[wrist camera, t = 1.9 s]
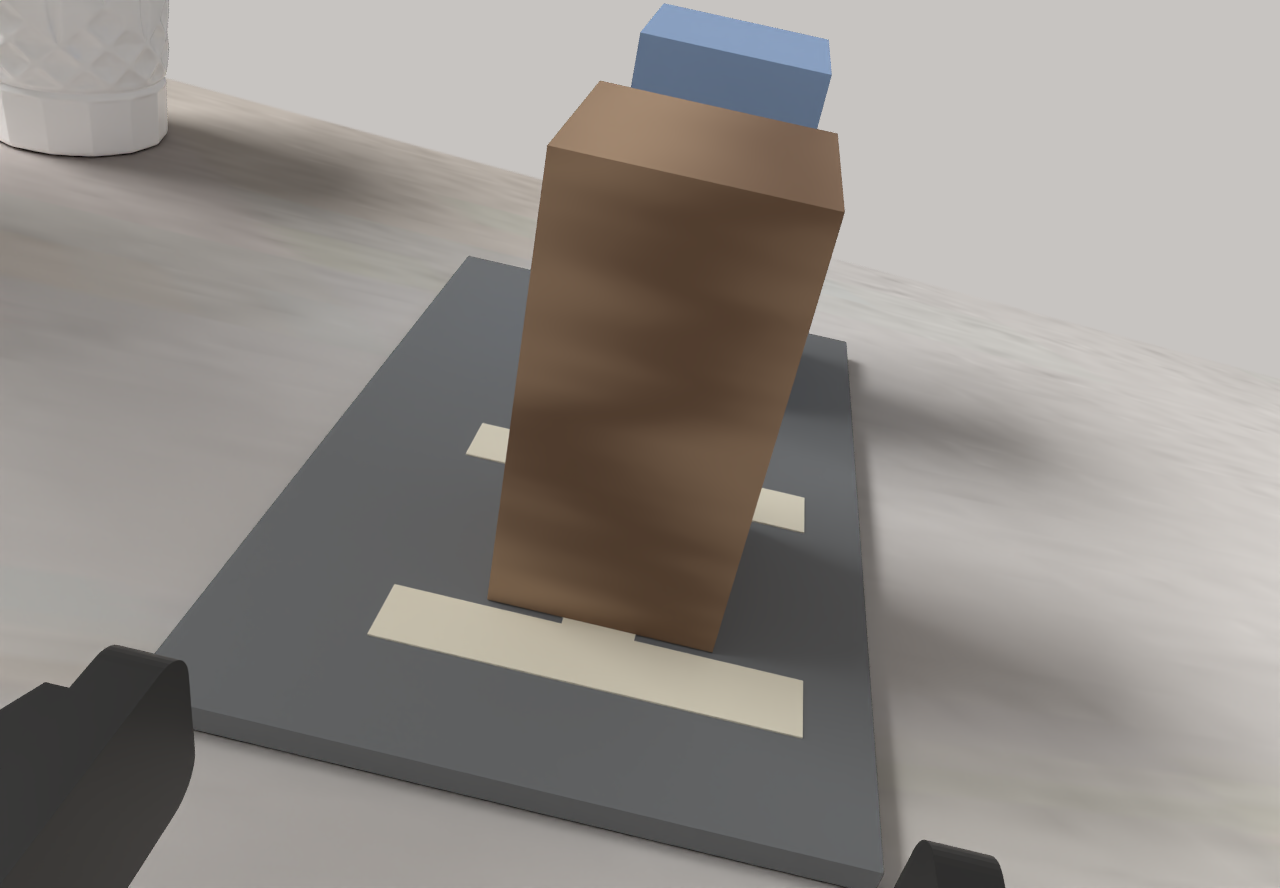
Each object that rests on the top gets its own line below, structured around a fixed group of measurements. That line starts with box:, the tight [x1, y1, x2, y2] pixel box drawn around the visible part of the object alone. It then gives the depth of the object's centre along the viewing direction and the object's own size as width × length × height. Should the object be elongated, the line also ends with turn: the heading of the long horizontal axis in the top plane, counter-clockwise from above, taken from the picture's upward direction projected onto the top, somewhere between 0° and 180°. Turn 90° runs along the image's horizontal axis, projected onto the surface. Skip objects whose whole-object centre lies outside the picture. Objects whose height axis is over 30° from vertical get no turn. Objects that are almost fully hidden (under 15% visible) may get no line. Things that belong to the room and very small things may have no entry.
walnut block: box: [487, 81, 845, 652], centre depth 22 cm, size 5×5×10 cm
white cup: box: [0, 0, 169, 157], centre depth 39 cm, size 8×8×10 cm
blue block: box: [631, 4, 832, 129], centre depth 31 cm, size 5×5×10 cm
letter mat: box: [155, 256, 884, 888], centre depth 28 cm, size 14×22×1 cm, turn 171°
